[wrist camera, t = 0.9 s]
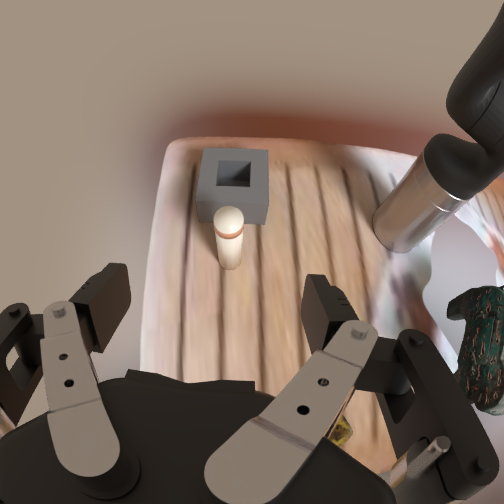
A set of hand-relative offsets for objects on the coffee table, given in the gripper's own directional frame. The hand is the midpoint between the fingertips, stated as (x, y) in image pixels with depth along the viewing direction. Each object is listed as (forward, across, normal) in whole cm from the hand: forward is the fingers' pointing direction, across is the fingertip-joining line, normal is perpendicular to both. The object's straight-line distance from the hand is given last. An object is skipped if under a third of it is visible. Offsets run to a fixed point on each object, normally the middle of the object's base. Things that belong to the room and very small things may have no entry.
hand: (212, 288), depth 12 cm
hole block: (+35, 0, +3) cm, 35 cm away
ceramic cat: (+16, -36, +21) cm, 45 cm away
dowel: (+27, 0, +10) cm, 29 cm away
